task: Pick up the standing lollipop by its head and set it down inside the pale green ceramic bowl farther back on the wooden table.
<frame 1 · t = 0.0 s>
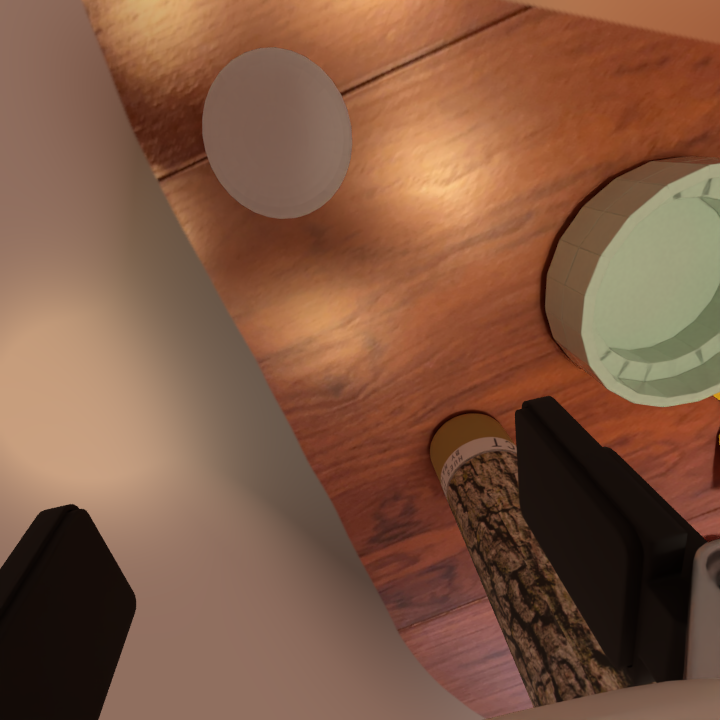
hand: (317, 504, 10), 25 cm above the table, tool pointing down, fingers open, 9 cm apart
bowl: (643, 274, 37), on the table
lollipop: (285, 139, 30), on the table
paper tube: (464, 441, 42), on the table
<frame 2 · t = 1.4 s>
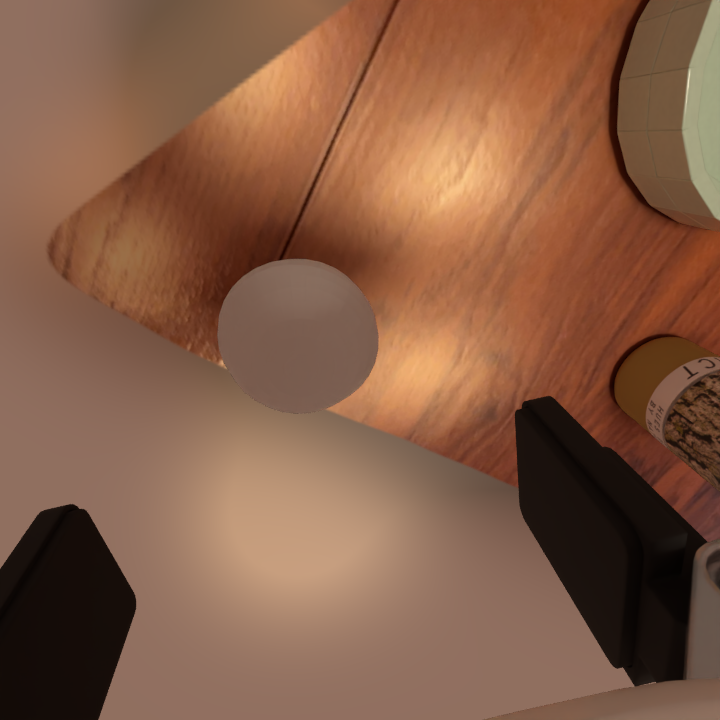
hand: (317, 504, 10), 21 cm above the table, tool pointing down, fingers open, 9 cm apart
lollipop: (296, 261, 29), on the table
paper tube: (650, 373, 36), on the table
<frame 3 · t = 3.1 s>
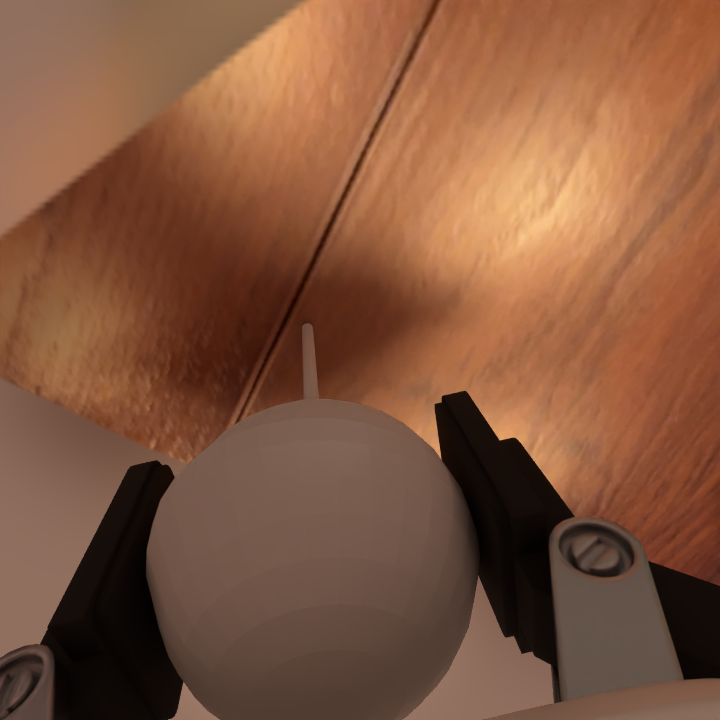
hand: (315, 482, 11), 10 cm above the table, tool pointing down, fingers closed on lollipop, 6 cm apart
lollipop: (307, 326, 20), on the table, touching gripper
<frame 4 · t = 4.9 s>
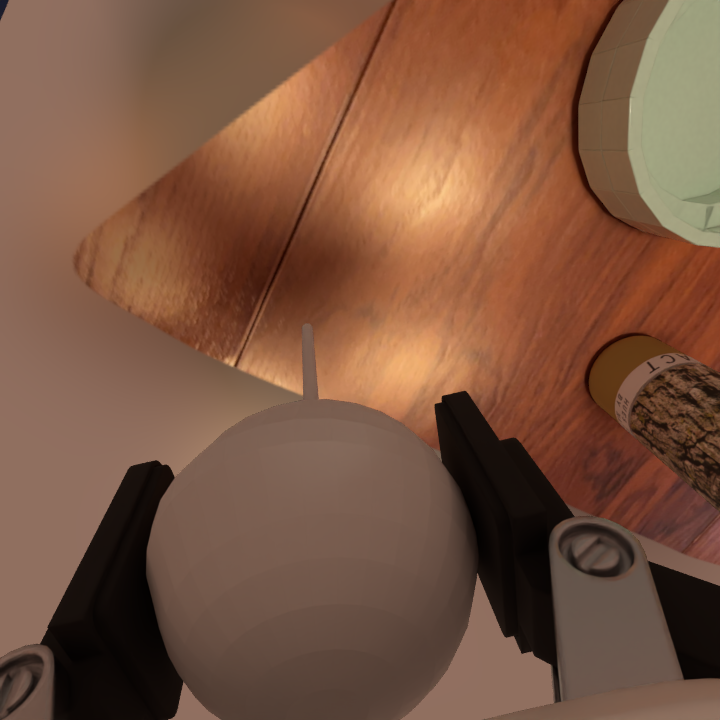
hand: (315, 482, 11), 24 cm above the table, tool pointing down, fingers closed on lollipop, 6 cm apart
bowl: (695, 100, 31), on the table
lollipop: (307, 326, 20), point 13 cm above the table, touching gripper
paper tube: (622, 370, 39), on the table
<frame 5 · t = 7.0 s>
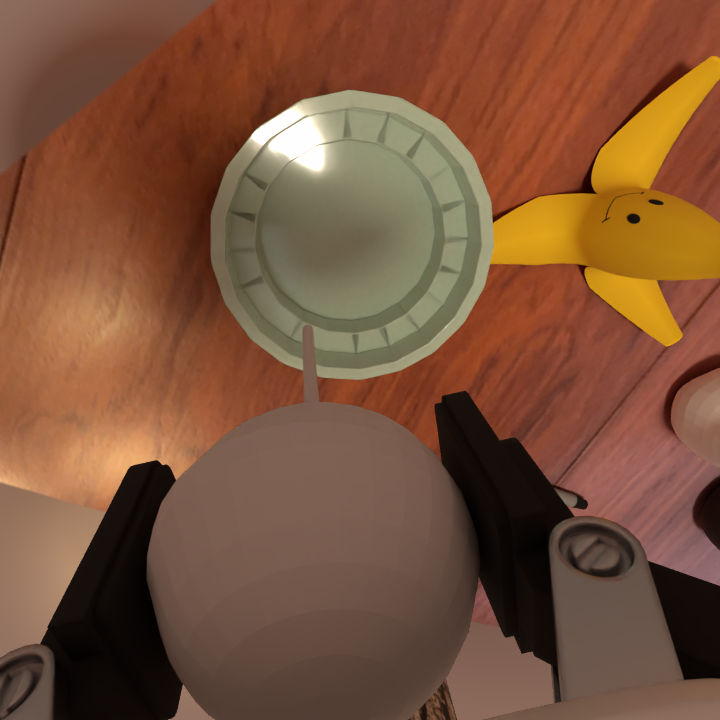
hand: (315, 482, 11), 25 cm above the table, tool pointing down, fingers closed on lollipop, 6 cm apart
bowl: (347, 234, 33), on the table
banana peel: (605, 247, 36), on the table, touching bowl
lollipop: (307, 328, 20), point 15 cm above the table, touching gripper
pen: (514, 475, 45), on the table
paper tube: (345, 460, 42), on the table
cat figurine: (714, 394, 43), on the table
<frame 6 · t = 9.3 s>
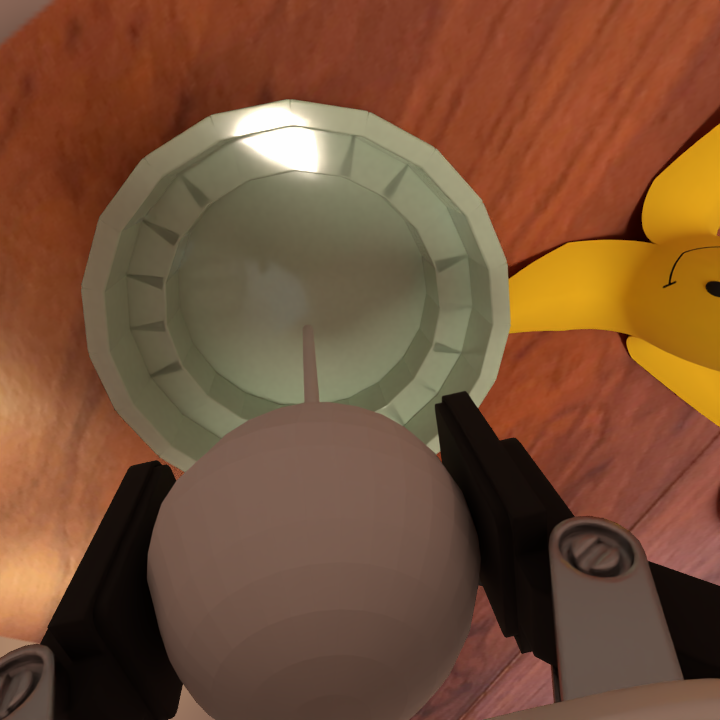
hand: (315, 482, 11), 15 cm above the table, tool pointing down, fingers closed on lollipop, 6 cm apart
bowl: (305, 294, 24), on the table
banana peel: (654, 306, 27), on the table, touching bowl
lollipop: (307, 328, 20), point 5 cm above the table, touching gripper
when the fingers open (11 cm above the table, at t = 10.8 s): lollipop stays where it is, resting on bowl.
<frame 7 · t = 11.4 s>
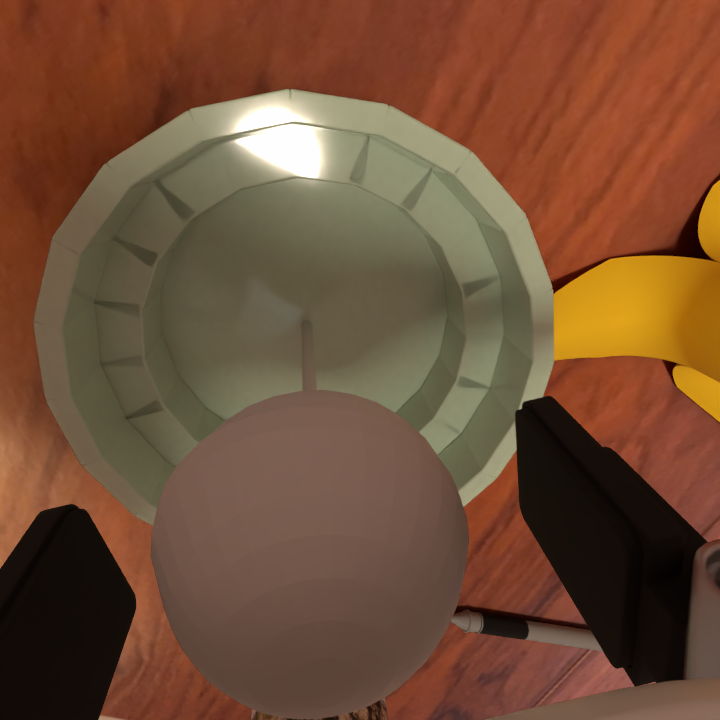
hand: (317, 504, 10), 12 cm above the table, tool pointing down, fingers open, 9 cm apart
bowl: (308, 318, 21), on the table
banana peel: (704, 329, 24), on the table, touching bowl
lollipop: (306, 324, 21), point 1 cm above the table, touching bowl
pen: (551, 622, 32), on the table
paper tube: (315, 615, 29), on the table
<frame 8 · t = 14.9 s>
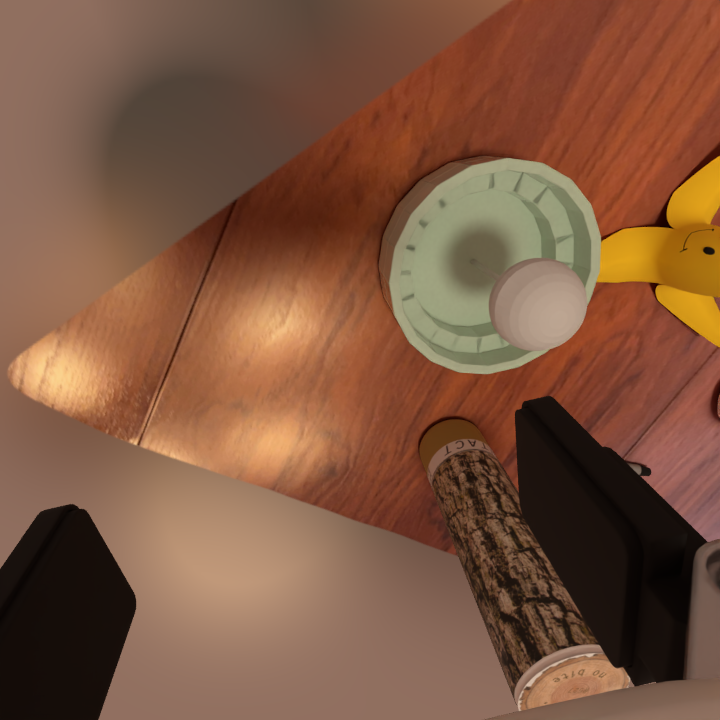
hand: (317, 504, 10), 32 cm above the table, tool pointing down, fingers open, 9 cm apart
bowl: (471, 259, 42), on the table
banana peel: (672, 268, 45), on the table, touching bowl
lollipop: (472, 260, 42), point 1 cm above the table, touching bowl
pen: (584, 456, 53), on the table
paper tube: (448, 442, 50), on the table
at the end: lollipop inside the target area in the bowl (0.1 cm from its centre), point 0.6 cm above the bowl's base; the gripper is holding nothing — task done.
